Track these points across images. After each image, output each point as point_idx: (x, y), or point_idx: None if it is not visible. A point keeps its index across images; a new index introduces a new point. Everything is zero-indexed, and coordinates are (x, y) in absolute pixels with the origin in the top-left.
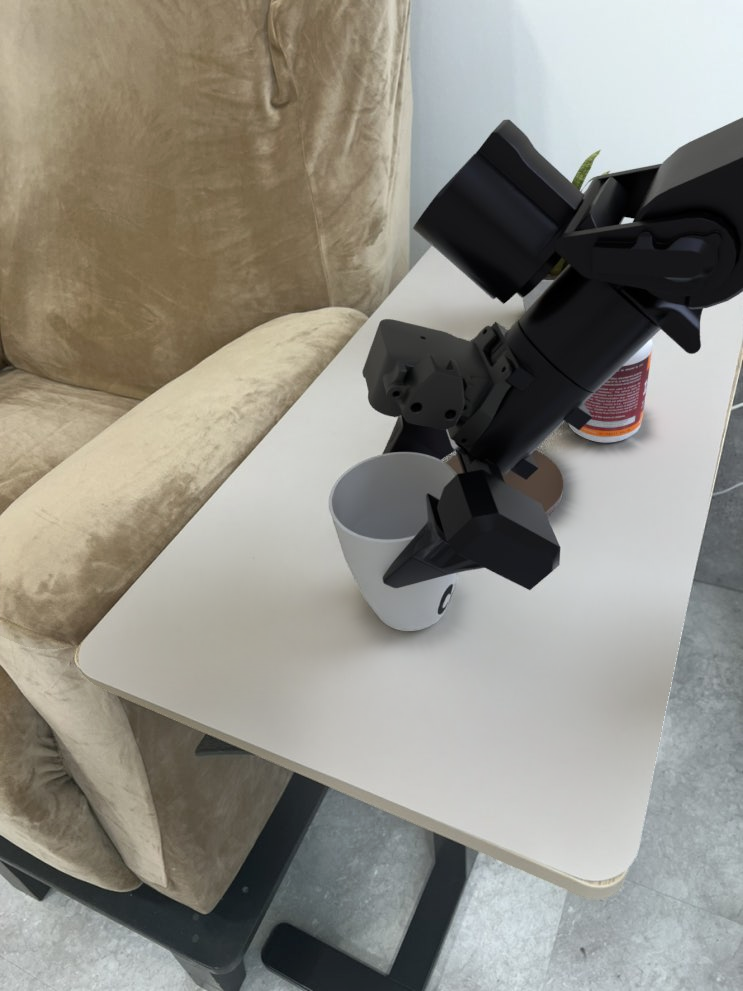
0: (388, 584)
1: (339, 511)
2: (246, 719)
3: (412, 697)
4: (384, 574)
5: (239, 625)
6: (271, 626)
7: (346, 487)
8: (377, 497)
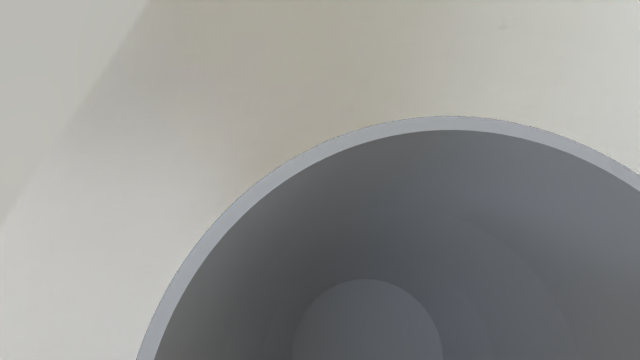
0: None
1: (463, 174)
2: (135, 57)
3: None
4: None
5: (336, 22)
6: (330, 77)
7: (573, 193)
8: (588, 308)
